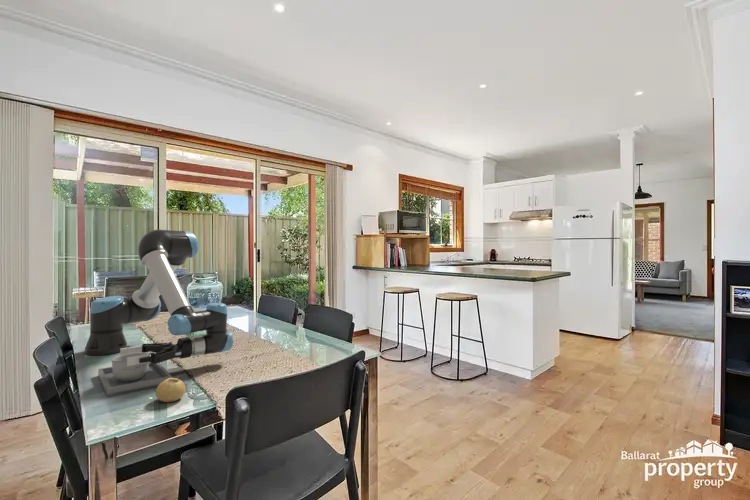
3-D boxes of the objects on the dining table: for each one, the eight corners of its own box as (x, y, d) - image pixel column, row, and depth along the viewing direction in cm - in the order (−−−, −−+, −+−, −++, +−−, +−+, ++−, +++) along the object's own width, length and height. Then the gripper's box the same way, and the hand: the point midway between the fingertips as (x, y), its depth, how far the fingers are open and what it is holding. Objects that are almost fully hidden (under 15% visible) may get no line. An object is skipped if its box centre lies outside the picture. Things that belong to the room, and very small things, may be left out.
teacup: (120, 387, 121) (120, 362, 121) (105, 379, 127) (105, 356, 127) (163, 375, 132) (164, 352, 132) (148, 369, 138) (148, 347, 138)
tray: (98, 375, 132) (98, 368, 132) (155, 366, 145) (155, 359, 145) (107, 396, 115) (107, 388, 115) (172, 383, 127) (172, 376, 127)
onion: (154, 407, 109) (155, 382, 108) (156, 397, 116) (156, 374, 116) (185, 402, 112) (185, 379, 112) (185, 393, 119) (185, 371, 119)
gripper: (200, 364, 132) (130, 378, 118) (180, 349, 151) (117, 359, 137) (201, 343, 132) (130, 354, 118) (181, 331, 151) (118, 339, 137)
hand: (123, 357), depth 127 cm, fingers open, 13 cm apart
